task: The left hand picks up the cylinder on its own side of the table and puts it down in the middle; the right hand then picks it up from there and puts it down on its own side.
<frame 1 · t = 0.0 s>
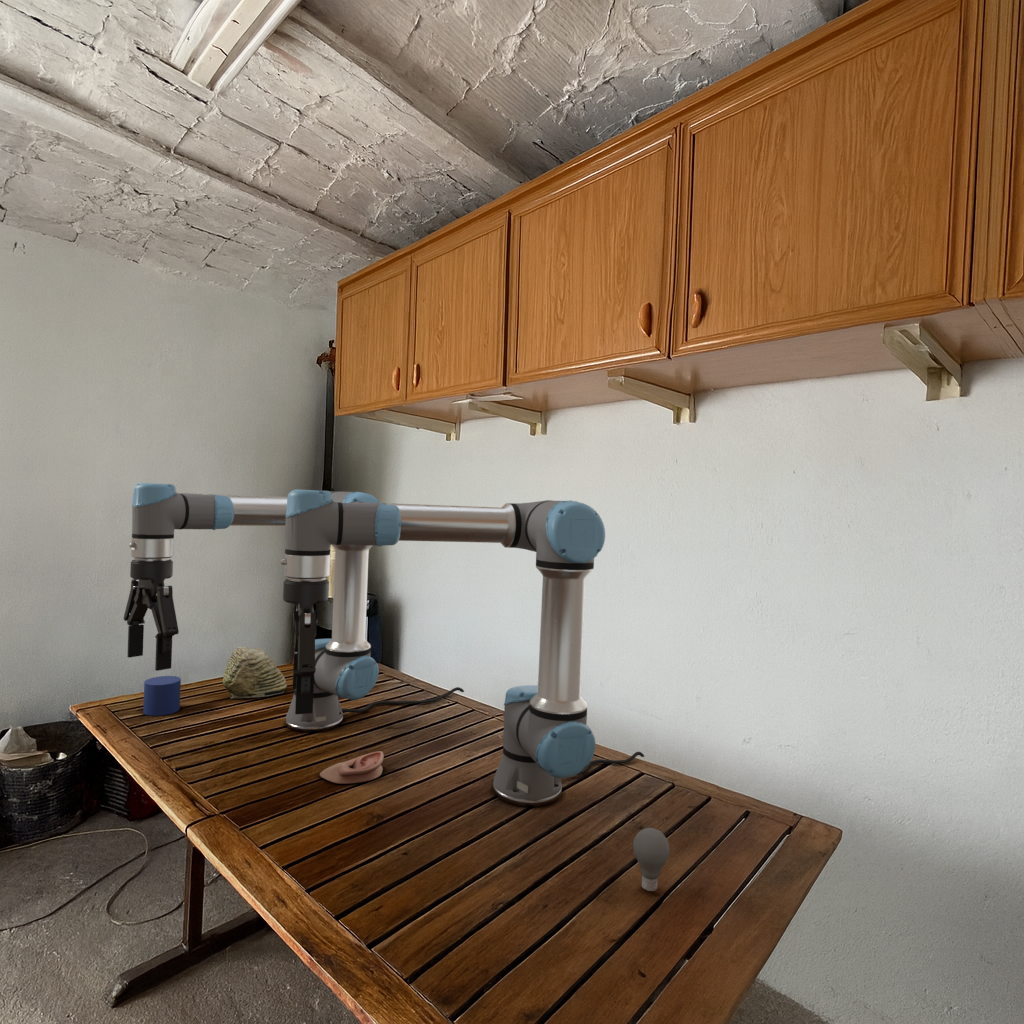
left hand: (148, 662, 129), 28 cm above the table, tool pointing down, fingers open, 13 cm apart
right hand: (302, 700, 110), 28 cm above the table, tool pointing down, fingers open, 13 cm apart
fossil: (254, 694, 198), on the table
anatomical model: (351, 774, 145), on the table
cylinder: (161, 710, 181), on the table
light bulb: (649, 890, 106), on the table
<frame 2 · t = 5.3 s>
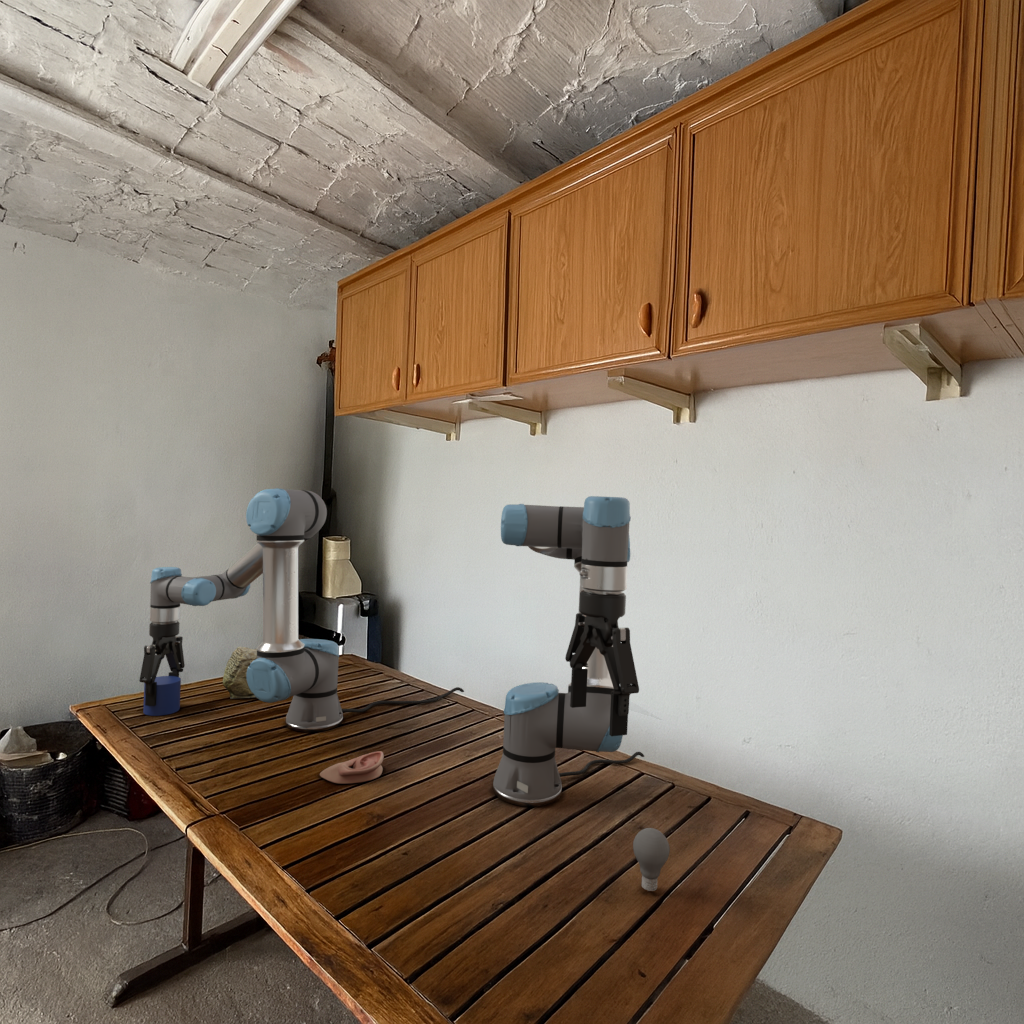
left hand: (162, 699, 181), 3 cm above the table, tool pointing down, fingers closed on cylinder, 9 cm apart
right hand: (596, 720, 104), 29 cm above the table, tool pointing down, fingers open, 13 cm apart
cylinder: (161, 710, 181), on the table, touching left hand
everything else where it was.
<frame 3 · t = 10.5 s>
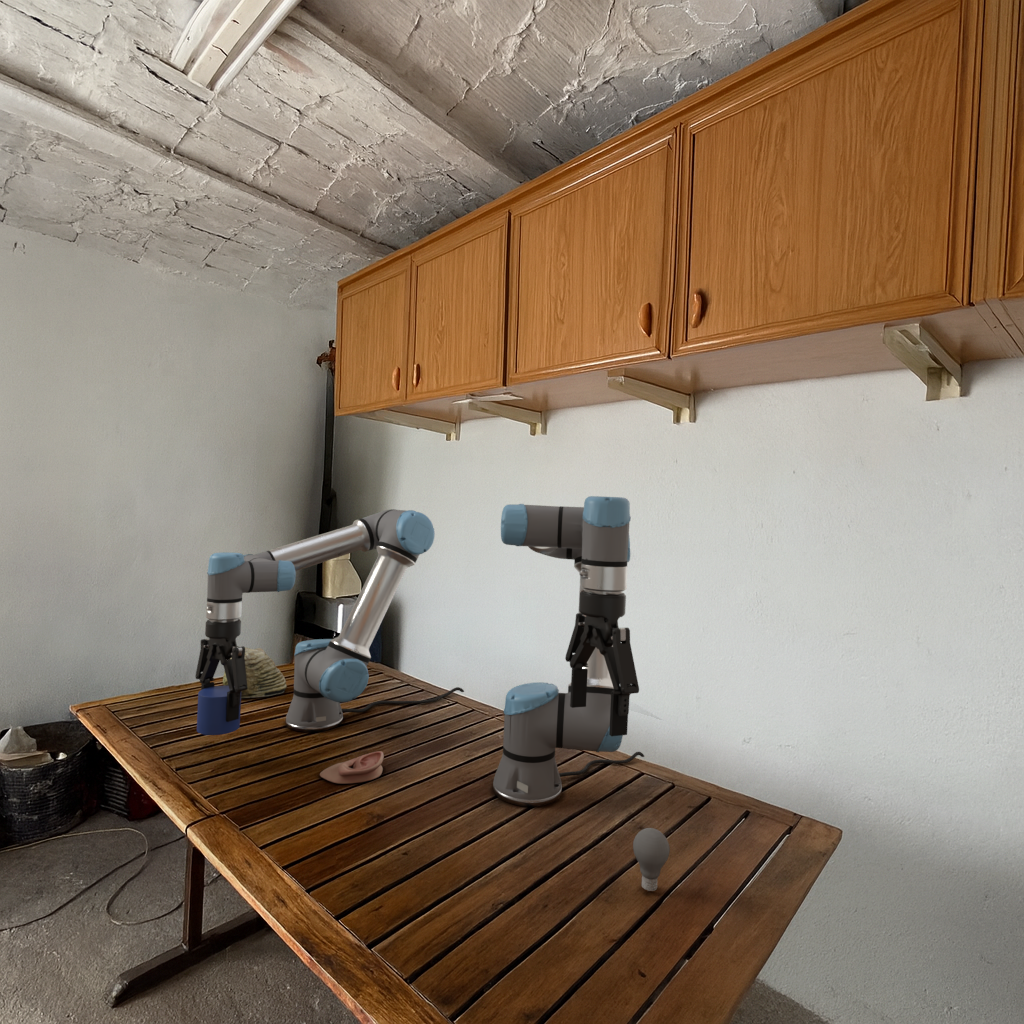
left hand: (219, 715, 148), 11 cm above the table, tool pointing down, fingers closed on cylinder, 9 cm apart
right hand: (596, 720, 104), 29 cm above the table, tool pointing down, fingers open, 13 cm apart
cylinder: (218, 728, 148), point 8 cm above the table, touching left hand
everything else where it was.
when the left hand's fingers open (4 cm above the table, at t = 15.6 s): cylinder drops 1 cm, on the table.
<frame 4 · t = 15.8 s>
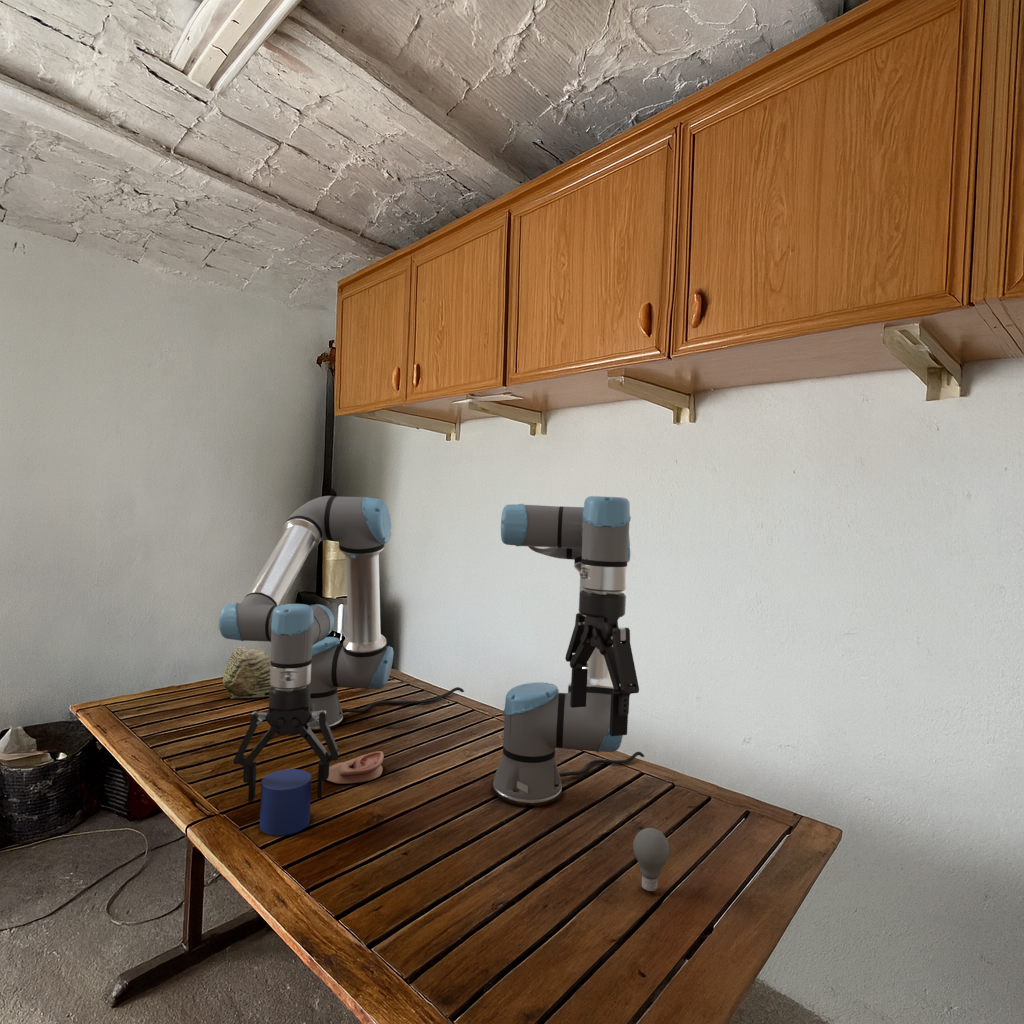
left hand: (286, 796, 123), 5 cm above the table, tool pointing down, fingers open, 12 cm apart
right hand: (596, 720, 104), 29 cm above the table, tool pointing down, fingers open, 13 cm apart
cylinder: (285, 823, 123), on the table
everything else where it was.
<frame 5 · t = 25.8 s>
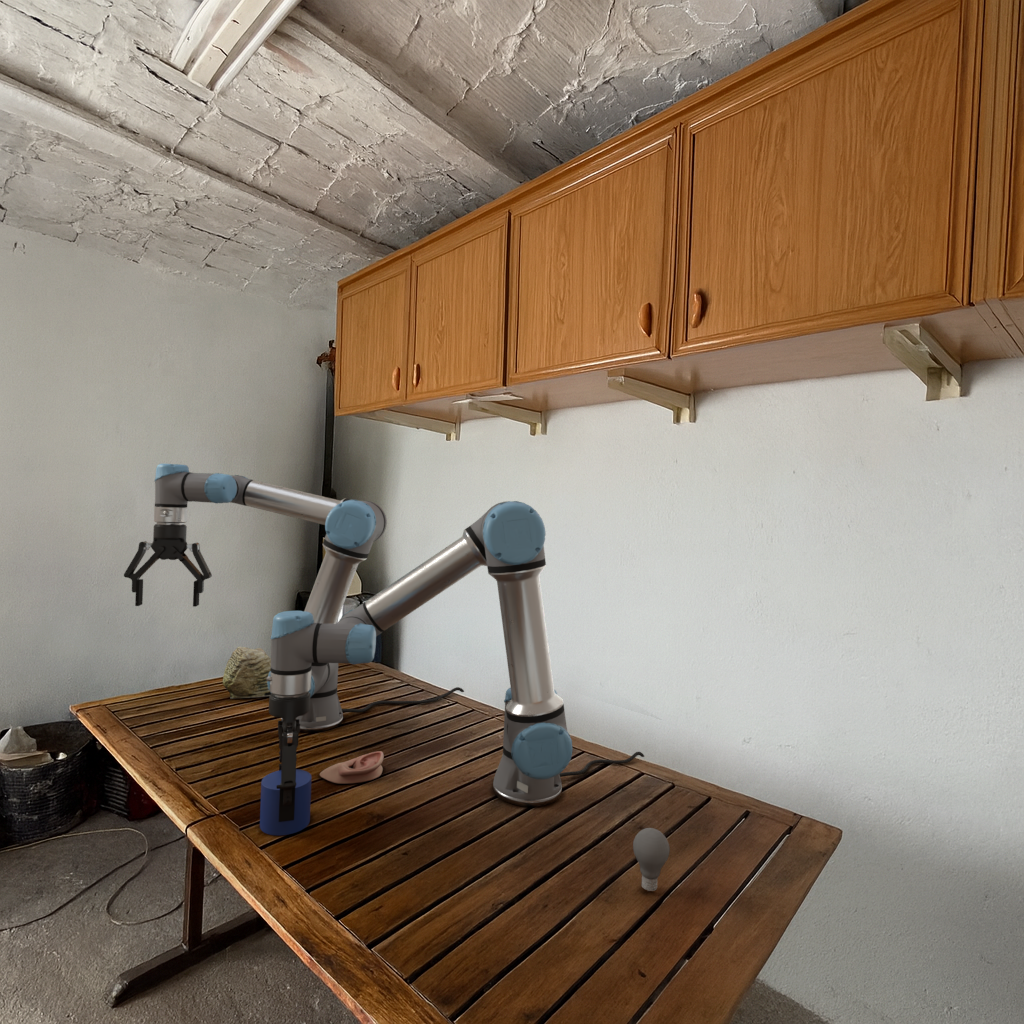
left hand: (167, 605, 164), 33 cm above the table, tool pointing down, fingers open, 13 cm apart
right hand: (285, 807, 123), 3 cm above the table, tool pointing down, fingers closed on cylinder, 9 cm apart
cylinder: (285, 823, 123), on the table, touching right hand
everything else where it was.
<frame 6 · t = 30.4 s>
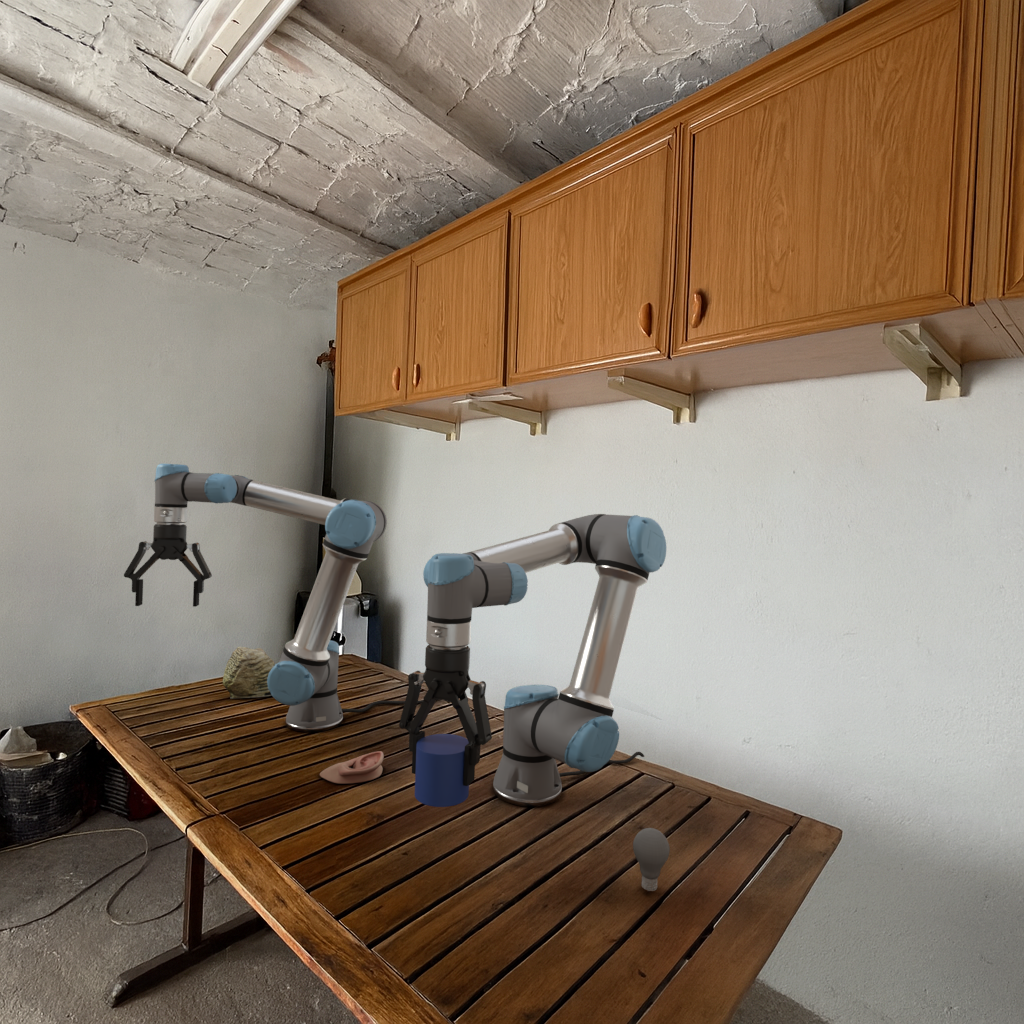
left hand: (167, 605, 164), 33 cm above the table, tool pointing down, fingers open, 13 cm apart
right hand: (442, 776, 108), 17 cm above the table, tool pointing down, fingers closed on cylinder, 9 cm apart
cylinder: (441, 794, 108), point 14 cm above the table, touching right hand
everything else where it was.
when the right hand's fingers open (4 cm above the table, at t = 35.5 s): cylinder drops 1 cm, on the table.
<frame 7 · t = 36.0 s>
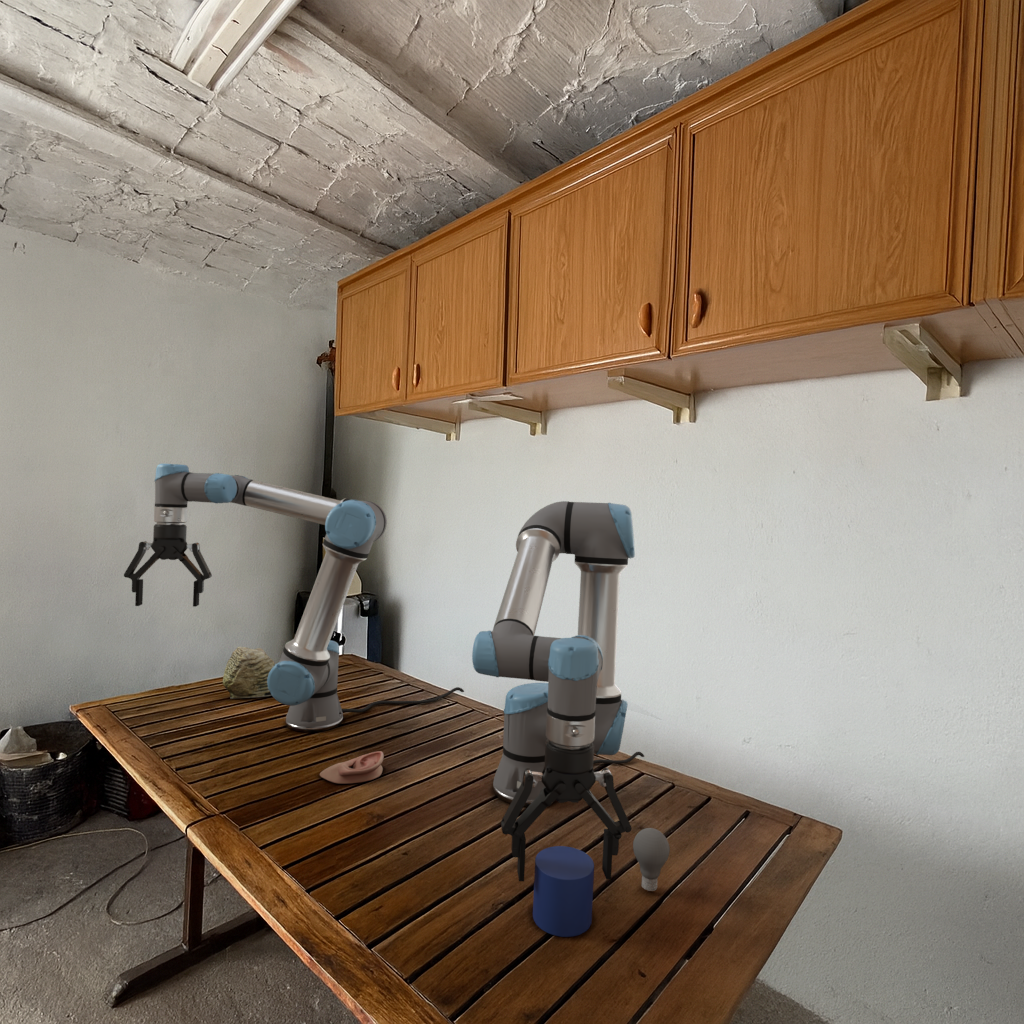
left hand: (167, 605, 164), 33 cm above the table, tool pointing down, fingers open, 13 cm apart
right hand: (563, 875, 99), 6 cm above the table, tool pointing down, fingers open, 13 cm apart
cylinder: (562, 916, 98), on the table
everything else where it was.
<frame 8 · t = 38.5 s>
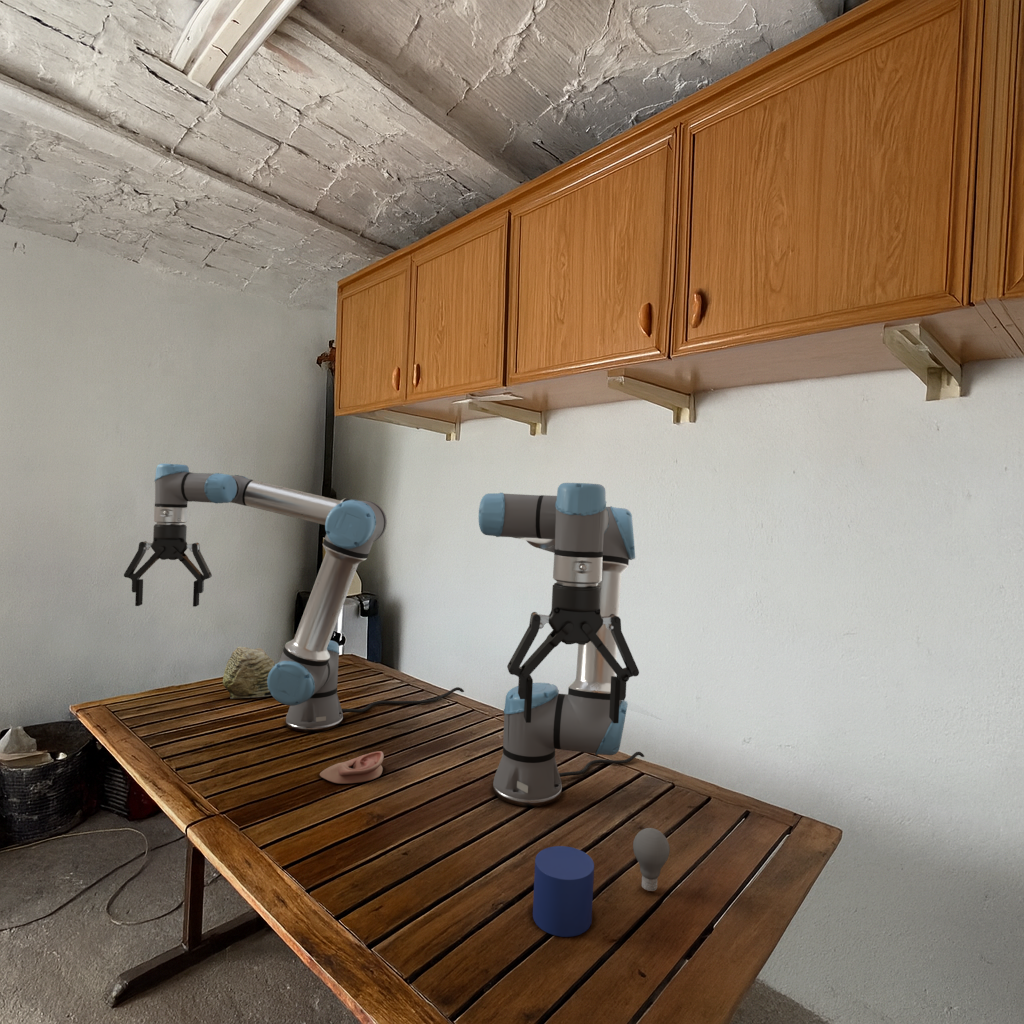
left hand: (167, 605, 164), 33 cm above the table, tool pointing down, fingers open, 13 cm apart
right hand: (570, 720, 98), 31 cm above the table, tool pointing down, fingers open, 13 cm apart
nothing on the table moved.
at the end: cylinder inside the target area (0.1 cm from its centre), on the table; cylinder tilted 0°; the two hands never held the cylinder at the same time; the left hand is holding nothing; the right hand is holding nothing; cylinder at rest at the end (0.0 cm/s) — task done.
